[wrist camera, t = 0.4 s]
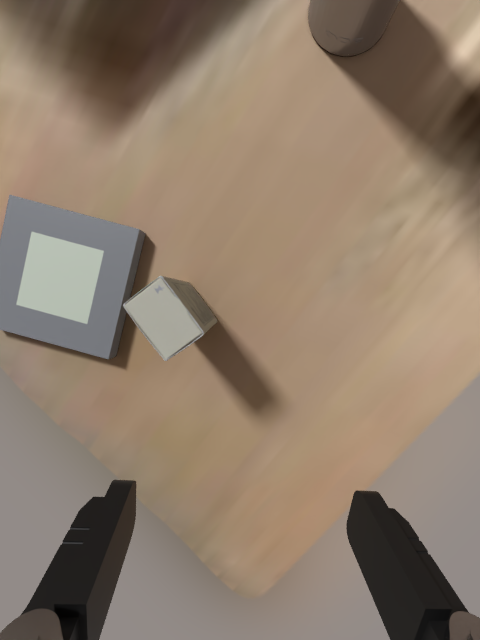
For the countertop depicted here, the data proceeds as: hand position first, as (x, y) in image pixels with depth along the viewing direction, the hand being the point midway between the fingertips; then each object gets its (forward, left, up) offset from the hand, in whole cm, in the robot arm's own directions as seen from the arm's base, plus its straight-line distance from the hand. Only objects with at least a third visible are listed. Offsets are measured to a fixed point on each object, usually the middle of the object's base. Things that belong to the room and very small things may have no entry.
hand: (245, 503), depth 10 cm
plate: (-4, -25, -26) cm, 36 cm away
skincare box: (-4, -9, -26) cm, 28 cm away
